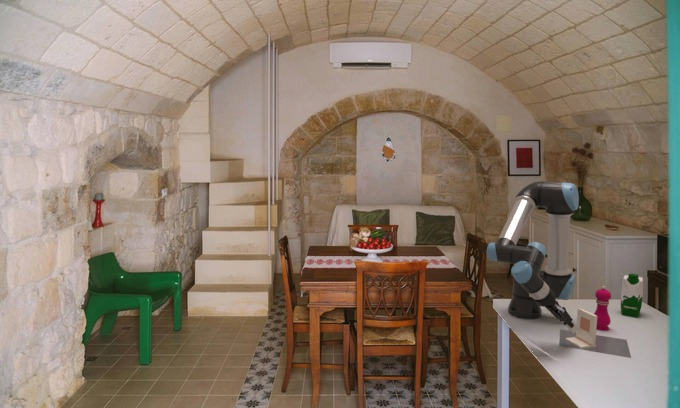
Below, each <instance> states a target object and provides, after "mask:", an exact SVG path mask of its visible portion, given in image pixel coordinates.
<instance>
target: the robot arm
mask: <svg viewBox="0 0 680 408" xmlns="http://www.w3.org/2000/svg"><path fill="white" fill-rule="evenodd" d="M579 202H580V196H579V190H578V187H577V186H576V185H575V184H574V183H570V182H564V181H563V182H562V181H542V180H541V181H540V180H539V181H534V182H531V183H529V184H528V185H525V186H524V187H523V188H522V189H520V190H519V191H518V192H517V194H516V195H515V198H514V200H513V207H512V209H511V211H510V213H509V214H508V217H507V219H506V222H505V224H504V226H503V227H502V229H501V233H500V234H499V237H498V239H497V241H496V242H489V243H488V245H487V247H486V252H485V253H486V257H487V259H488V260H489V261H492V262H497V263H505V264H511V265H513V266H512V267H511V269H510V271H511V272H510V273H511V275H512V277H513V280H512V282H513V283H512V295H511V296H512V297H511V299H510V302H509V304H508V306H507V313H508V314H509V315H511V316H513V317H517V318H520V319H528V320H534V319H539V318H541V317H542V307H544V308H545V309H547V311H548V312H549V313H551V315H553V317H554V318H556V319H557V320H559V321H560V322H561V323H562V325H564V326H565V327H566V329H568V331H571V332H572V333H575V332H576V331H577V330H578V328H577V325H576V324H575V323H574V322H573V318H572V317H571V315H570V314H569V312H568V311H567V308H566V307H565V306H561V305H560V304H559V302H558V301H557V300H564V301H568V300H570V298H571V297H572V295H573V292H574V289H575V286H576V281H577V280H576V275H574V274H572V269H571V268H570V267H569V254H570V253H569V251H570V250H569V247H570V228H571V227H570V226H571V225H570V223H571V216H572V215H574V214H575V211H577V210H578V209H579ZM536 208H544V209H545V214H546V215H547V216H548V227H547V231H548V232H547V234H548V235H547V248H546V246H545V245H544V244H542V243H540V242H537V241H532V242H529V243H528V244H527V245H526V246H523V245H522V246H521V245H517V244H518V241H519V239H520V237H521V234H522V232H523V231H524V229H525V226H526V224H527V221H528V219H529V217H530V214H531V213H532V212H533V211H535V210H536ZM546 254H547V265H546V266H545V267H544V268H543V270H541V269H542V267H543V264H544V262H545V259H546ZM556 299H557V300H556Z"/></svg>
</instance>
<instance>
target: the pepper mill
mask: <svg viewBox="0 0 680 408" xmlns="http://www.w3.org/2000/svg"><path fill="white" fill-rule="evenodd" d="M594 295H595V297H596V301H595V303H596V308H595V311H594V313H593V314H594V315H596V316H597V326H596V331H597V330H598V331H609V330H610V329H609V328H610V327H609V326H610V324H611V323H612V322H611V317H610V314H609V312H608V311H609V310H608V306H609V305H610V300H611V298H612V295H611V291H609V290H608V289H607V287H606V286H605V285H602V286H601V288H599V289H597V290H596V291H595V294H594Z"/></svg>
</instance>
